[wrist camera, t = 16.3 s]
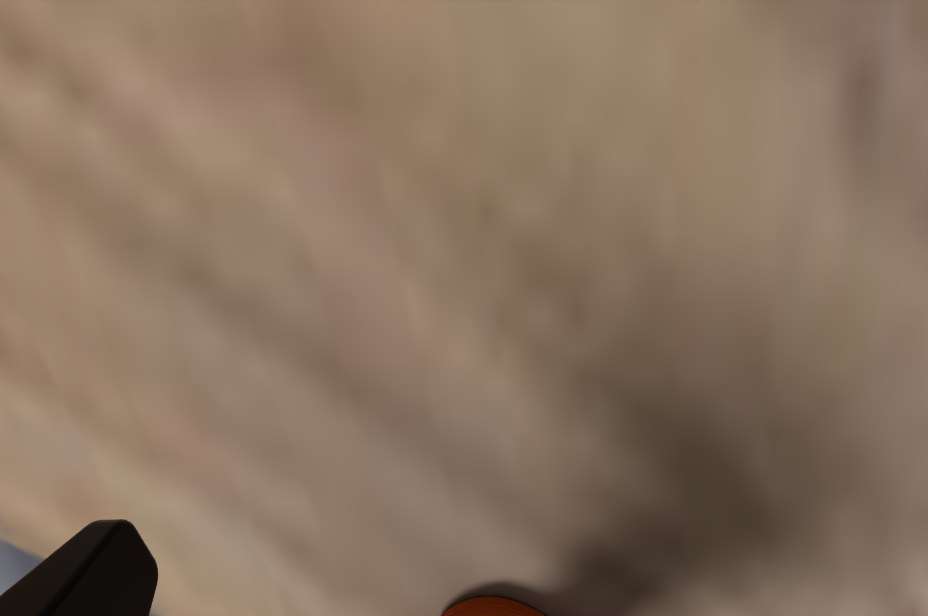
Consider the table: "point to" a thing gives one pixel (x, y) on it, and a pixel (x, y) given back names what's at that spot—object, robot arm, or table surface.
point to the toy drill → (491, 608)
